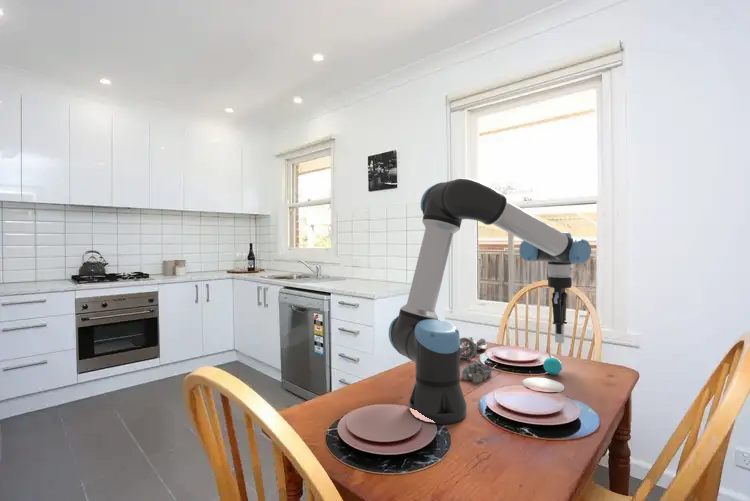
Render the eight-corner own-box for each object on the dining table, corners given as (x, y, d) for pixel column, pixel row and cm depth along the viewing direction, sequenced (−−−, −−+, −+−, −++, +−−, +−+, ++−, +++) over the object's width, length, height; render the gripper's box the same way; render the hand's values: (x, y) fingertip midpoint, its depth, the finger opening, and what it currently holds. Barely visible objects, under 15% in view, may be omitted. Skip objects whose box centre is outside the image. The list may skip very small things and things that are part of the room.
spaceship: (429, 345, 137) (447, 340, 132) (473, 335, 163) (490, 331, 159) (435, 368, 134) (454, 363, 130) (479, 354, 161) (496, 350, 156)
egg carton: (478, 384, 121) (478, 372, 121) (458, 378, 127) (458, 366, 127) (495, 376, 128) (495, 364, 128) (476, 370, 134) (476, 359, 134)
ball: (559, 378, 125) (559, 361, 125) (541, 374, 129) (541, 358, 128) (563, 373, 130) (563, 357, 130) (545, 370, 133) (545, 354, 133)
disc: (559, 396, 111) (559, 395, 111) (517, 386, 119) (517, 386, 119) (568, 383, 121) (568, 383, 121) (528, 375, 128) (528, 374, 128)
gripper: (567, 278, 128) (567, 348, 129) (575, 274, 138) (575, 339, 139) (543, 277, 133) (543, 345, 134) (552, 273, 143) (552, 336, 144)
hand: (559, 342), depth 137 cm, fingers closed
